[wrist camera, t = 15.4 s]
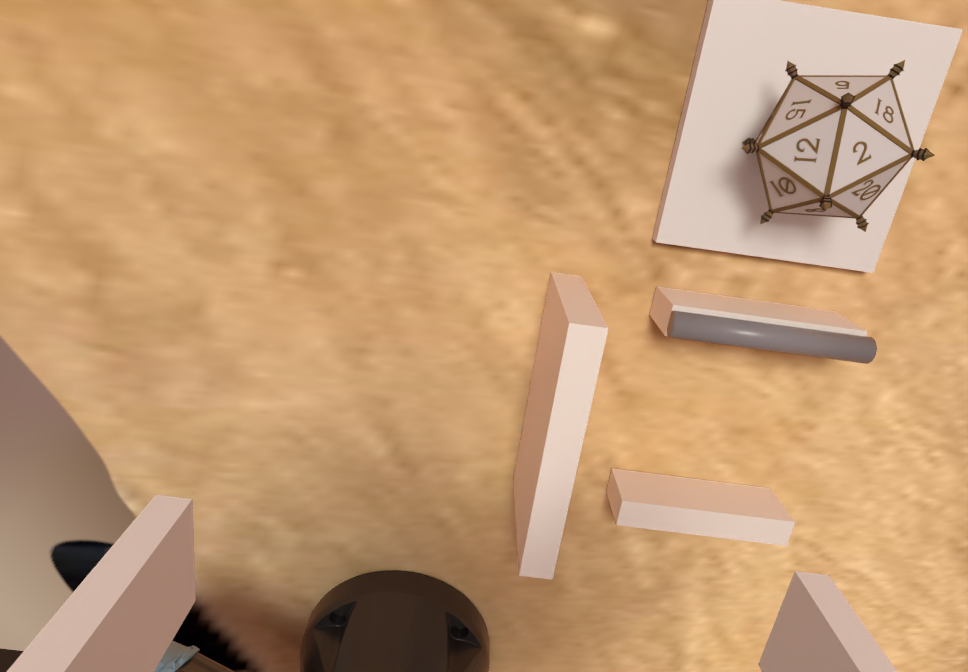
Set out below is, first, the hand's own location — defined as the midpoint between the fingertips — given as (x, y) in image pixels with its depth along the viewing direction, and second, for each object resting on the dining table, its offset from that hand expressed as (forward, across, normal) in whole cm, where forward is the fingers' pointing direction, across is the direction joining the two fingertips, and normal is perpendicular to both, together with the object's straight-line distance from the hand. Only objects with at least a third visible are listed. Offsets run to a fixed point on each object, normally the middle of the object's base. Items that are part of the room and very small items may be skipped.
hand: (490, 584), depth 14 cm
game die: (+28, -17, -10) cm, 34 cm away
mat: (+29, -17, -10) cm, 35 cm away
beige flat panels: (+29, -13, +8) cm, 33 cm away
